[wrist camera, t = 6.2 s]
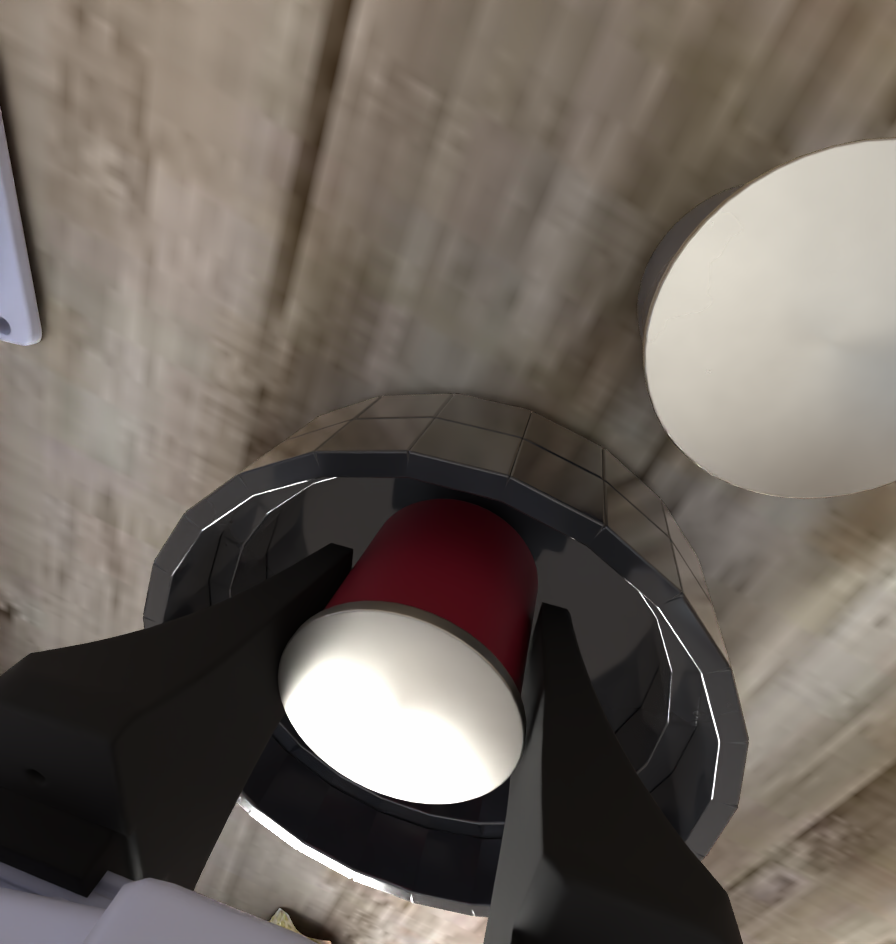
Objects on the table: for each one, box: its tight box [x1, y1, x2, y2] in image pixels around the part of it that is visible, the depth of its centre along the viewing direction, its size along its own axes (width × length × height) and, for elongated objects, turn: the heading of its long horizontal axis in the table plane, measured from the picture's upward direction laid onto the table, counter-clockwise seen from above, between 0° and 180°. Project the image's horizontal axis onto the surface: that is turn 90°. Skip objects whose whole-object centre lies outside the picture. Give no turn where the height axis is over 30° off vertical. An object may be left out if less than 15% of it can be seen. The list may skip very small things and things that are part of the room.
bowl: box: [143, 393, 749, 917], centre depth 16 cm, size 15×15×4 cm
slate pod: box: [637, 137, 896, 499], centre depth 10 cm, size 5×5×5 cm
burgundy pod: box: [278, 499, 538, 804], centre depth 13 cm, size 5×5×5 cm
